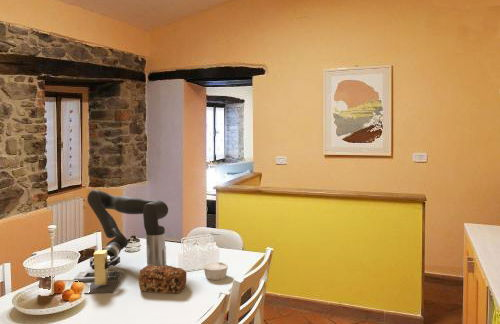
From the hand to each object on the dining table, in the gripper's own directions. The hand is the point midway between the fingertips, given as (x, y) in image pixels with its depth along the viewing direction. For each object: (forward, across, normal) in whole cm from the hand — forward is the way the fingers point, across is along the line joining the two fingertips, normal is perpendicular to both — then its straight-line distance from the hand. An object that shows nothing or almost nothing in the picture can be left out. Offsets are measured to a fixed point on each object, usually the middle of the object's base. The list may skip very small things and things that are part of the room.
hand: (99, 267), depth 187 cm
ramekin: (-11, +50, +11) cm, 53 cm away
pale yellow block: (-3, 0, +8) cm, 8 cm away
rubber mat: (-2, 0, +10) cm, 11 cm away
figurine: (+2, -22, +11) cm, 24 cm away
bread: (+1, +27, +11) cm, 29 cm away
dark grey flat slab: (-15, -5, +10) cm, 19 cm away
